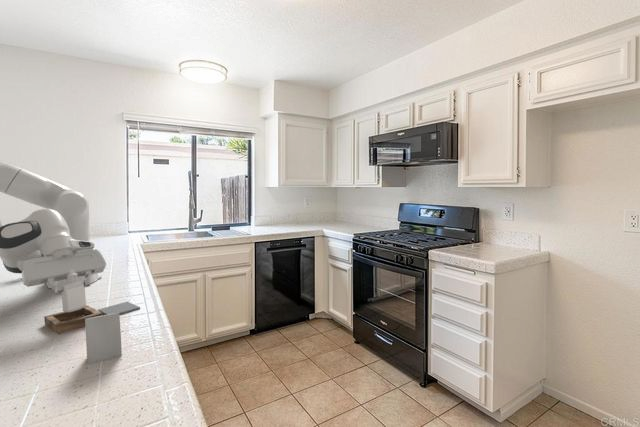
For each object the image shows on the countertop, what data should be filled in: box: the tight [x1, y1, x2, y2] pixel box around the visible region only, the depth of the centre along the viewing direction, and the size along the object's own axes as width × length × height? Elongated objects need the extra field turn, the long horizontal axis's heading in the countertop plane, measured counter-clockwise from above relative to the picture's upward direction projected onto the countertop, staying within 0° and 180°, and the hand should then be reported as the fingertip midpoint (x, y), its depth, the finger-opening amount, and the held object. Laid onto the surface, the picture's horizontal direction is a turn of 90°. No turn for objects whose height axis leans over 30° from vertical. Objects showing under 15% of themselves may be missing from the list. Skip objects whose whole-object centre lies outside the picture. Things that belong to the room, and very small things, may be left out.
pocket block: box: [43, 304, 103, 335], centre depth 98 cm, size 11×11×2 cm
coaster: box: [97, 301, 141, 316], centre depth 108 cm, size 9×9×1 cm
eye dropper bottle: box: [61, 270, 87, 312], centre depth 97 cm, size 4×6×12 cm
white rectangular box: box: [84, 313, 123, 365], centre depth 78 cm, size 4×7×10 cm, turn 125°
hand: (74, 288), depth 97 cm, fingers closed on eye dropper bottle, 6 cm apart
